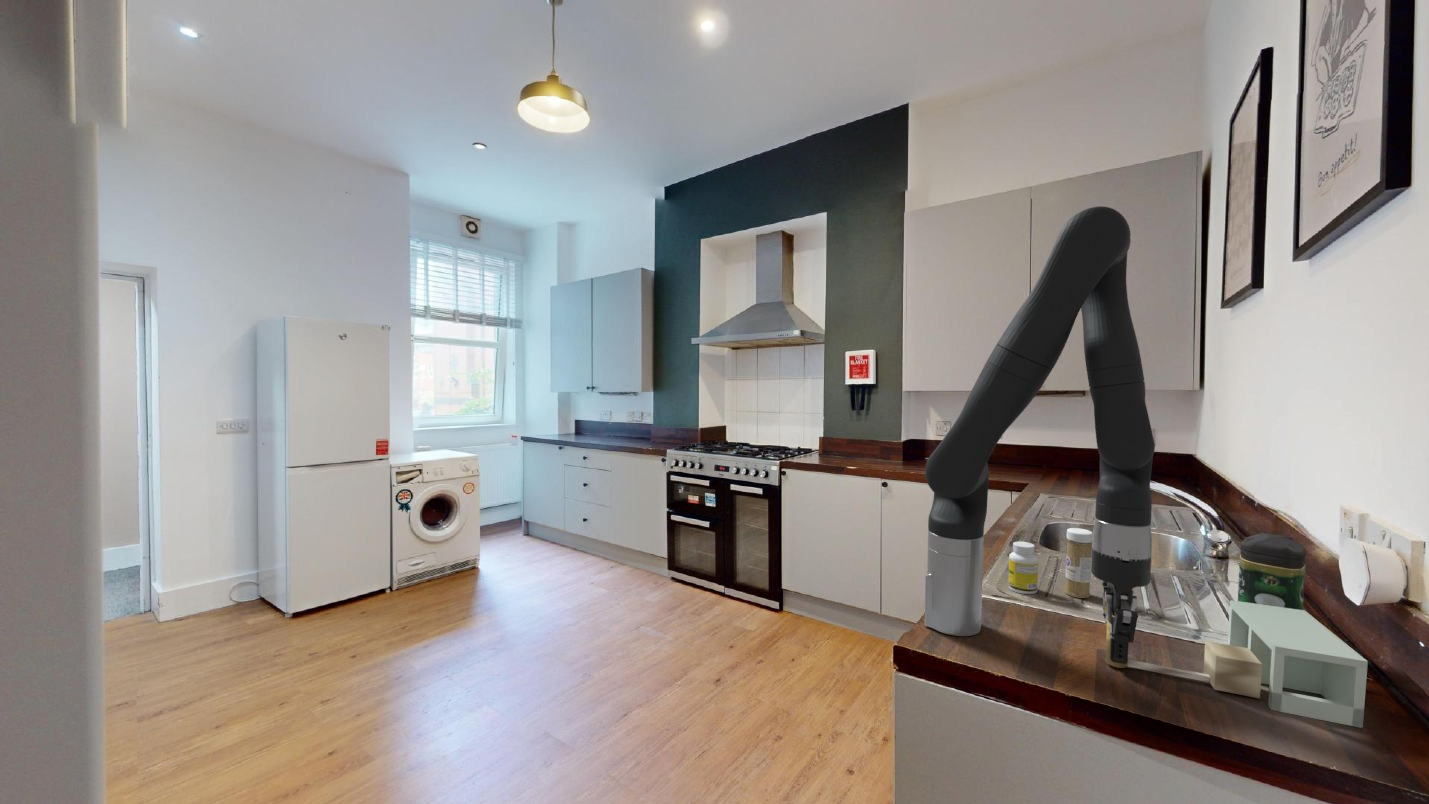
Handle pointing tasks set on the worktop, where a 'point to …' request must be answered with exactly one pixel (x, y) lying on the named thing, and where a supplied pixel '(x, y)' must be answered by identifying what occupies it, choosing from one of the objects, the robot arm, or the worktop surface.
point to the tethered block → (1212, 668)
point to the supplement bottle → (1023, 568)
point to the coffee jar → (1272, 571)
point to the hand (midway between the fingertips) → (1116, 656)
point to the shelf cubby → (1301, 662)
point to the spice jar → (1078, 562)
